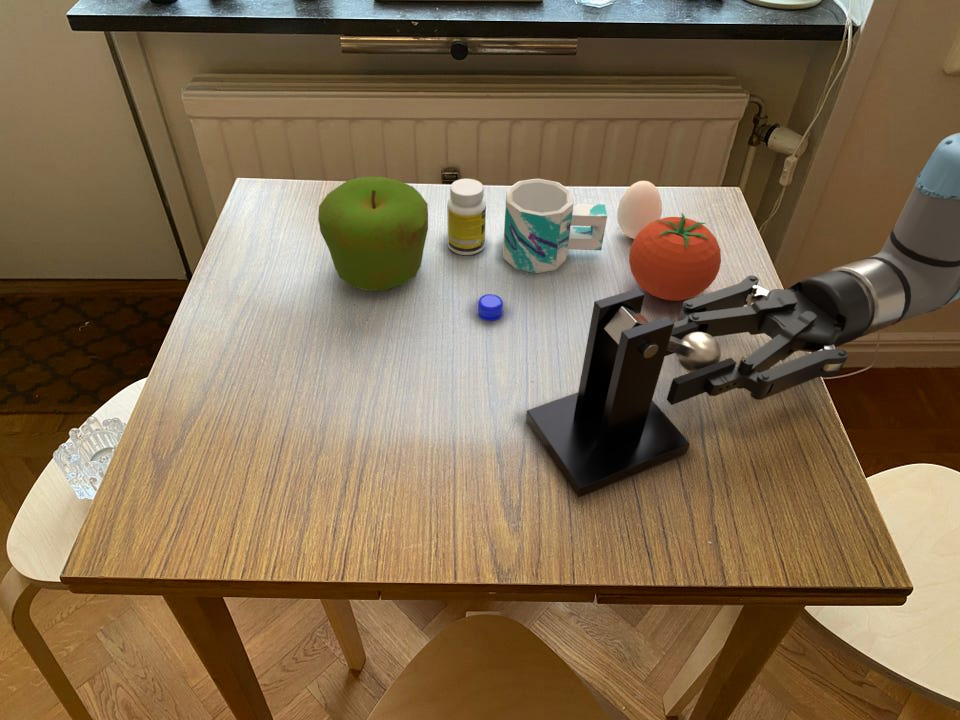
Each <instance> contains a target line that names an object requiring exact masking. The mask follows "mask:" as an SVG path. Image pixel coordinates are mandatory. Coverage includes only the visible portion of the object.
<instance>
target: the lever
mask: <svg viewBox="0 0 960 720" xmlns="http://www.w3.org/2000/svg"><path fill="white" fill-rule="evenodd" d="M649 322H650V321H649V320H647V318H646V317H645V316H644V315H643V314H642V313H638V312H635V311H633V310H630V309H628V308H625V307H621V308H620V309H619V310H618V312H617V313H616V314H615V315H614V317H613V318H612V319H611V320H610V322H609V323H608V324H607V325H606V327H605V328H604V329H605V330H606V331H607V332H608V333H609V334H610V336H611V337H612V338H613V339H614V340H615V341H616V342H617V343H618V345H619V341H620V337H621V332H622V331H625V330H628V329H631V328H634V327H637V326H640V325H643V324H646V323H649ZM667 350H668V351H671V352H674V353H673V354H675V359H676V362H677V364H678V366H679V367H680V368H681V369H682V370H683V371H684V372H686V373H687V374H688V373H690V372H693V371H696V370H698V369H701V368H704V367H707V366H709V365H712V364H715V363H718V362H720V360H721V357H722V351H721V346H720V343H718V341H717V340H716V338H714V337H712V336H711V335H709V334H707V333H703V332H693V333H690V334H688V335H686V336H685V337H683V338H682V339H678V338H675V337H673V336H671V337H670V340H669V344H668V347H667Z"/></svg>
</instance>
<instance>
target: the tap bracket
mask: <svg viewBox="0 0 960 720" xmlns="http://www.w3.org/2000/svg"><path fill="white" fill-rule="evenodd" d="M645 296H646V294H645V293H644V292H643V291H642V290H641V289H640V288H639V287H637V288H634V289H631V290H628V291H624V292H621V293H618V294H614V295H611V296H608V297H605V298H601V299H598V300H595V301H594V303H593V308H592V313H591V319H590V325H589V328H588V329H589V330H588V334H587V335H588V336H587V341H586V347H585V352H584V357H583V362H582V363H583V364H582V369H581V374H580V380H579V385H578V391H577V392H575V393H573V394H570V395H569V394H568V395H567V396H563V397H561V398H557V399H556V400H555V399H554V400H553V401H550V402H547V403H544V404H541V405H538V406H536V407H533V408H530V409H527V410H526V414H525V421H526V423H527V424H528V426H529V427H530V429H531V430H532V431H533V433H534V435H535V436H536V437H537V439H538V441H539V442H540V443H541V445H542V446H543V448H544V450H545V451H546V452H547V453H548V455H549V456H550V458H551V459H552V461H553V462H554V464H555V465H556V467H557V468H558V469H559V471H560V473H561V474H562V475H563V477H564V478H565V480H566V481H567V483H568V485H569V486H570V487H571V489H572V490H573V492H574V493H575V495H576V496H577V497H578V498H581V497H583V496H586V495H589V494H591V493H593V492H596V491H598V490H601V489H604V488H605V487H608V486H610V485H613V484H615V483H618V482H621V481H622V480H626V479H627V478H630V477H632V476H636V475H637V474H640V473H642V472H645V471H648V470H650V469H652V468H654V467H657V466H659V465H662V464H664V463H666V462H669V461H672V460H673V459H676V458H679V457H681V456H683V455H686V454H687V453H688V450H689V448H690V445H691V443H690V441H689V440H688V439H687V438H686V437H685V436H684V435H683V434H682V432H681V431H680V430H679V429H678V428H677V426H676V425H675V424H674V423H673V422H672V421H671V420H670V419H669V417H668V416H667V415H666V414H665V413H664V412H663V411H662V409H661V408H660V407H659V406H658V405H657V404H656V402H655V401H654V400H653V399H654V395H655V392H656V388H657V385H658V383H659V382H658V381H659V378H660V374H661V371H662V368H663V364H664V362H665V357H666V356H665V354H666V351H667V347H668V344H669V340H670V337H671V333H672V330H673V327H674V323H675V322H673V321H672V320H671V319H670V318H669V317H668V316H664V317H662V318H659V319H655V320H653V321H648V322H649V323H646V324H643V325H640V326H637V327H634V328H631V329H628V330H625V331H622V332H621V337H620V341H619V345H618V343H617V342H616V341H615V340H614V339H613V338H612V337H611V336H610V334H609V333H608V332H607V331H606V330H605V329H604V328H605V327H606V325H607V324H608V323H609V322H610V320H611V319H612V318H613V317H614V315H615V314H616V313H617V312H618V310H619V309H620V308H621V307H625V308H628V309H630V310H633V311H635V312H638V313H640V314H642V313H641V312H642V309H643V305H644V301H645Z"/></svg>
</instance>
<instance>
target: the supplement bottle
mask: <svg viewBox="0 0 960 720" xmlns="http://www.w3.org/2000/svg"><path fill="white" fill-rule="evenodd" d="M484 189H485V188H484V185H483V183H482V182H480V181H478V180H477V179H475V178H474V179H473V178H460V179H457V180H455V181H453V182H452V183H451V184H450V187H449V190H450V191H449V199H448V200H447V205H446V207H447V208H446V209H447V210H446V212H447V213H446V217H447V220H446V222H447V224H446V225H447V246H448V248H449V249H450V250H451V251H452V252H453V253H454V254H458V255H461V256H471V255H475V254H478V253H479V252H481V251H482V250H484V247H485V243H486V242H485V241H486V216H487V215H486V214H487V213H486V212H487V203H486V200H485V199H484V196H485V193H484V192H485V191H484Z"/></svg>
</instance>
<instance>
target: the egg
mask: <svg viewBox="0 0 960 720" xmlns="http://www.w3.org/2000/svg"><path fill="white" fill-rule="evenodd" d="M658 189H659V188H657V186H656V185H655V184H654V183H652V182H650V181H648V180H639V181H637V182H634V183H632V184H631V185H630V186H629V187H628V188H627V189H626V191H625V192H624V193H623V194H622V196H621V198H620V200H619V203H618V207H617V210H616V220H617V224H618V227H619V229H620V230H621V232H622V233H623V234H624V235H625V236H626V237H628V238H630V239H632V240H634V239H635V237H636V236H637V234H638V233H639V232H640V231H641V230H642V229H643V228H644V227H645V226H646V225H648V224H649V223H651V222H654V221H655V220H659V219H662V214H663V213H662V212H663V202H662V198H661V194H660V191H659V190H658Z"/></svg>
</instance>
